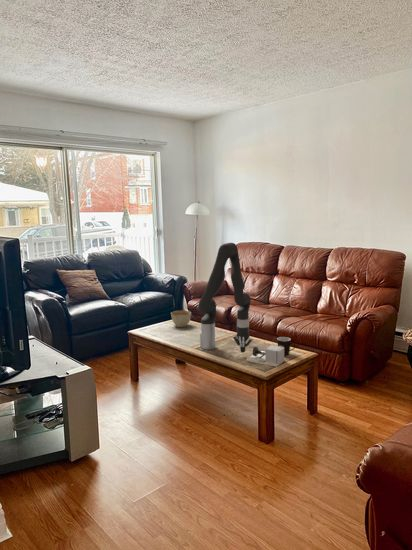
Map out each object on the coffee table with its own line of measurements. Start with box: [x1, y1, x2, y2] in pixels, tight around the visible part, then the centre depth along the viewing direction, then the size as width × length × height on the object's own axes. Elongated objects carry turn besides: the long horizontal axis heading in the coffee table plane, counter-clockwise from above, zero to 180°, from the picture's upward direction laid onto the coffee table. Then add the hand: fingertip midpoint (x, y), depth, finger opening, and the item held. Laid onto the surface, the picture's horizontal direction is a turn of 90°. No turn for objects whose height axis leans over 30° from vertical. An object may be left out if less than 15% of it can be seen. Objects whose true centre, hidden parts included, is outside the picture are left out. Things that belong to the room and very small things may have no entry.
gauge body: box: [245, 344, 285, 367], centre depth 248 cm, size 20×12×9 cm, turn 58°
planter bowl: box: [170, 310, 192, 328], centre depth 328 cm, size 16×16×11 cm
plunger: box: [252, 346, 265, 358], centre depth 247 cm, size 14×9×6 cm, turn 58°
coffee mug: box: [276, 336, 297, 357], centre depth 257 cm, size 12×9×10 cm
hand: (242, 352), depth 257 cm, fingers closed
